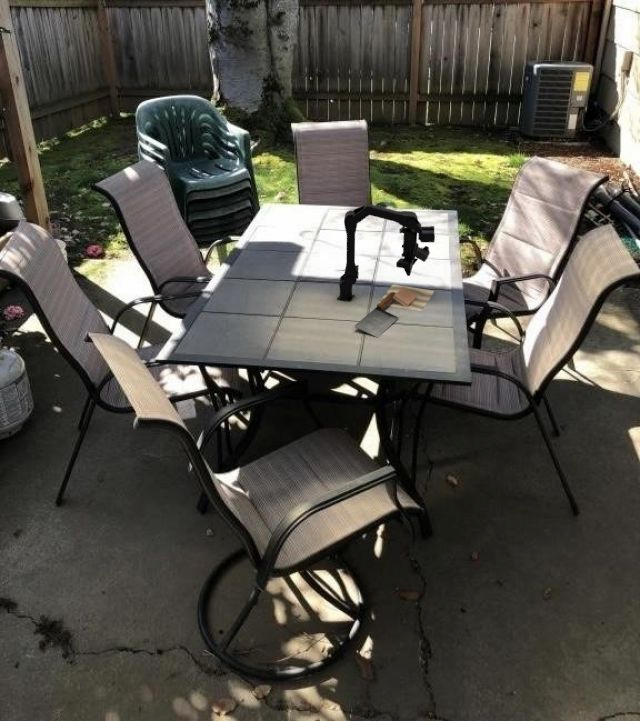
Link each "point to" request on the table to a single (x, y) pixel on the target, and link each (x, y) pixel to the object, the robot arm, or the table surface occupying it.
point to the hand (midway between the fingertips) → (408, 275)
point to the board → (418, 303)
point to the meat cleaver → (378, 318)
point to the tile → (405, 296)
